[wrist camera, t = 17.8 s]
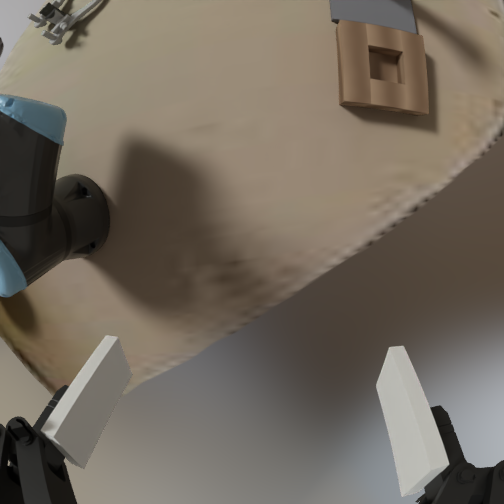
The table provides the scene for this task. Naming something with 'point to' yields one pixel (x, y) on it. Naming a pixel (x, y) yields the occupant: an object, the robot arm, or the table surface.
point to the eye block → (381, 68)
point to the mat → (375, 13)
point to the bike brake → (59, 19)
